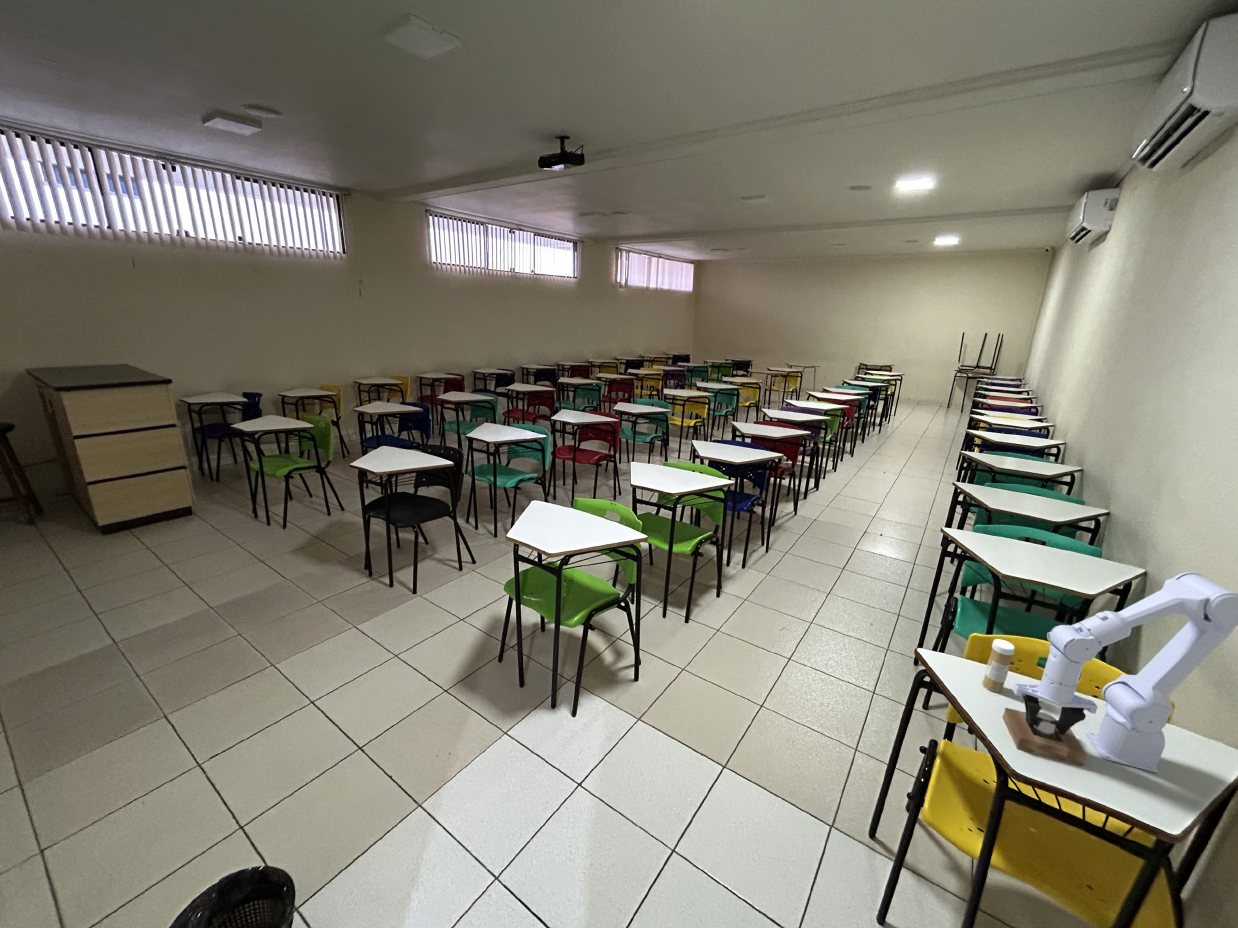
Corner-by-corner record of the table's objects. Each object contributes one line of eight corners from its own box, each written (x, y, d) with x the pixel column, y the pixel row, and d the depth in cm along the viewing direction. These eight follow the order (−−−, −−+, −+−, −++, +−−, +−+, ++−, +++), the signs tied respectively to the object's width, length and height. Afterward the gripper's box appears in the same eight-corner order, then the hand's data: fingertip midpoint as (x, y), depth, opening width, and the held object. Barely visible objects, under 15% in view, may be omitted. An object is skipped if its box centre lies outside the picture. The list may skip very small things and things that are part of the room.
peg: (1047, 736, 117) (1053, 714, 115) (1054, 748, 113) (1061, 727, 112) (1026, 731, 118) (1032, 709, 117) (1033, 743, 114) (1039, 721, 113)
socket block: (1063, 732, 118) (1066, 722, 117) (1083, 765, 109) (1086, 754, 108) (1002, 717, 122) (1005, 707, 121) (1016, 748, 113) (1020, 737, 112)
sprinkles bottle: (985, 678, 136) (996, 636, 132) (1005, 688, 132) (1017, 644, 128) (979, 686, 133) (991, 642, 129) (1000, 695, 129) (1012, 651, 126)
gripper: (1092, 675, 112) (1075, 724, 116) (1014, 658, 117) (1001, 706, 121) (1108, 696, 105) (1090, 747, 109) (1025, 677, 111) (1011, 727, 114)
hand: (1044, 727), depth 114 cm, fingers open, 5 cm apart
